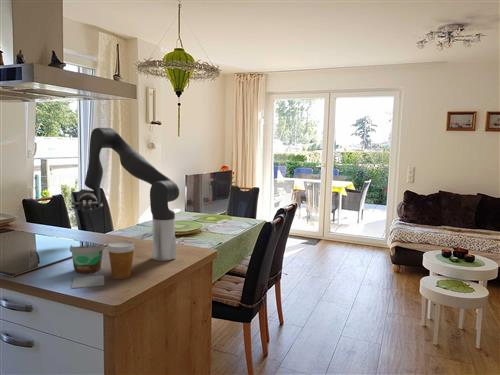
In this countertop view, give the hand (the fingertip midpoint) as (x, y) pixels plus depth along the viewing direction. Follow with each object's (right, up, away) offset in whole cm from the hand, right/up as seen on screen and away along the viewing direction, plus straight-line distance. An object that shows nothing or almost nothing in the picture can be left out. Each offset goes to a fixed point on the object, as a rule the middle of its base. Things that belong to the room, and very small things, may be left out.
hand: (86, 208), depth 151 cm
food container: (+5, -23, -11) cm, 26 cm away
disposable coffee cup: (+19, -24, -14) cm, 34 cm away
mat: (+10, -24, -21) cm, 34 cm away
